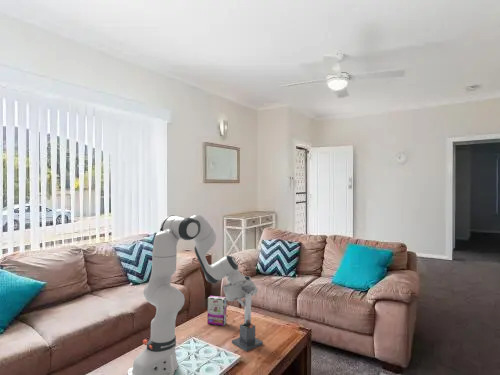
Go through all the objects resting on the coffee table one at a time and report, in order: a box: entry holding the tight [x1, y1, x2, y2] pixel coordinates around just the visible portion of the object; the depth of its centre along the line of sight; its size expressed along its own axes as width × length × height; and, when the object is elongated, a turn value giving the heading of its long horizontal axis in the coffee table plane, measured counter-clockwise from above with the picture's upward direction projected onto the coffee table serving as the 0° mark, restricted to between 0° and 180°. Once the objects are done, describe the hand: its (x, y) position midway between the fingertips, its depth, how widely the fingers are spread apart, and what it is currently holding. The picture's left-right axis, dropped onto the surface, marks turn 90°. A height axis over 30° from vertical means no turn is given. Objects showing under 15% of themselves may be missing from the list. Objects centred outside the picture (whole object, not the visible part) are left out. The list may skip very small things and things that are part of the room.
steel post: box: [242, 285, 255, 328], centre depth 177 cm, size 5×5×24 cm
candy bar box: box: [206, 295, 228, 327], centre depth 202 cm, size 11×5×16 cm, turn 73°
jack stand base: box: [231, 323, 264, 352], centre depth 177 cm, size 12×12×11 cm
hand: (247, 304), depth 177 cm, fingers closed on steel post, 3 cm apart
